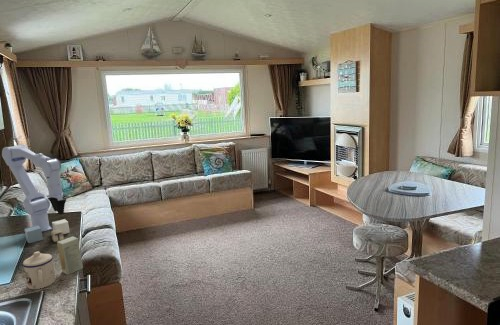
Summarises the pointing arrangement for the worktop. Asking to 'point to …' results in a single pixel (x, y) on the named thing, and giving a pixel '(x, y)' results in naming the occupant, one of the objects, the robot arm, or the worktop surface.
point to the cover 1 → (33, 234)
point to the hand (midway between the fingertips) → (59, 212)
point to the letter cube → (57, 235)
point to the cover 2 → (61, 226)
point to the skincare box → (70, 255)
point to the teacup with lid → (39, 270)
